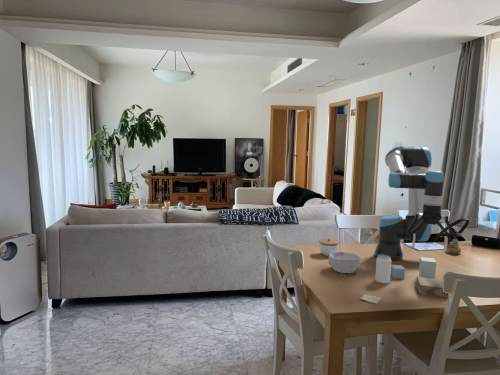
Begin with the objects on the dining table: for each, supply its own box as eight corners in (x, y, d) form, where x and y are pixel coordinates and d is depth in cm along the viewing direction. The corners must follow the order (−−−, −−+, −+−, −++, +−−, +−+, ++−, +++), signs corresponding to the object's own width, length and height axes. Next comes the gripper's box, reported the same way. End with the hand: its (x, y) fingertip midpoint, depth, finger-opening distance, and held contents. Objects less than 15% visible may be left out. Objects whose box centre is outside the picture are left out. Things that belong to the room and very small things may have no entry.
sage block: (420, 281, 172) (422, 260, 171) (418, 277, 178) (420, 257, 177) (434, 283, 171) (436, 262, 170) (432, 278, 176) (433, 258, 175)
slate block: (393, 278, 176) (394, 268, 175) (390, 274, 181) (390, 265, 180) (404, 278, 176) (404, 268, 175) (400, 275, 181) (401, 265, 180)
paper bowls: (338, 263, 196) (339, 249, 195) (365, 271, 185) (366, 255, 185) (322, 270, 186) (323, 254, 185) (349, 278, 175) (350, 262, 174)
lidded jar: (340, 253, 214) (341, 238, 213) (334, 258, 205) (334, 242, 204) (322, 250, 220) (323, 235, 218) (315, 255, 211) (316, 239, 209)
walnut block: (419, 294, 158) (420, 285, 157) (416, 284, 168) (416, 276, 168) (448, 297, 154) (449, 288, 154) (442, 288, 165) (443, 279, 164)
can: (388, 285, 167) (389, 259, 166) (373, 282, 171) (375, 256, 169) (391, 280, 173) (392, 255, 171) (377, 277, 176) (378, 253, 175)
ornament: (443, 252, 220) (445, 236, 218) (446, 250, 224) (447, 234, 223) (458, 255, 214) (460, 238, 213) (461, 253, 219) (462, 237, 218)
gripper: (404, 203, 170) (401, 248, 172) (464, 207, 163) (460, 254, 165) (402, 201, 177) (399, 244, 180) (460, 204, 170) (456, 249, 172)
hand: (429, 249), depth 172 cm, fingers open, 13 cm apart
